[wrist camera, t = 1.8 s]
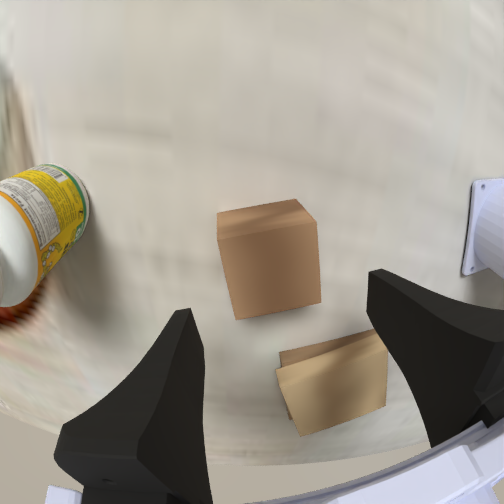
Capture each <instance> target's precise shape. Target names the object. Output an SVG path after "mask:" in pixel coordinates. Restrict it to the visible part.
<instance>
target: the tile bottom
mask: <svg viewBox="0 0 504 504" xmlns="http://www.w3.org/2000/svg"><path fill="white" fill-rule="evenodd" d="M374 334H377V332H376V331H375V329H371V330H368V331H364V332H361V333H357V334H353V335H350V336H346V337H342V338H338V339H334V340H330V341H326V342H322V343H318V344H314V345H310V346H305V347H301V348H296V349H292V350H287V351H282V352H279V354H280V361H281V368H282V367H285V366H289V365H292V364H295V363H298V362H301V361H304V360H307V359H310V358H313V357H316V356H319V355H322V354H325V353H327V352H330V351H333V350H336V349H338V348H341V347H344V346H346V345H349V344H352V343H354V342H357V341H359V340H362V339H364V338H367V337H369V336H372V335H374ZM286 405H287V404H286ZM287 411H288V415H289V419H290V420H292V419H293V418H292V416H291V413H290V411H289V408H288V406H287Z"/></svg>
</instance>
